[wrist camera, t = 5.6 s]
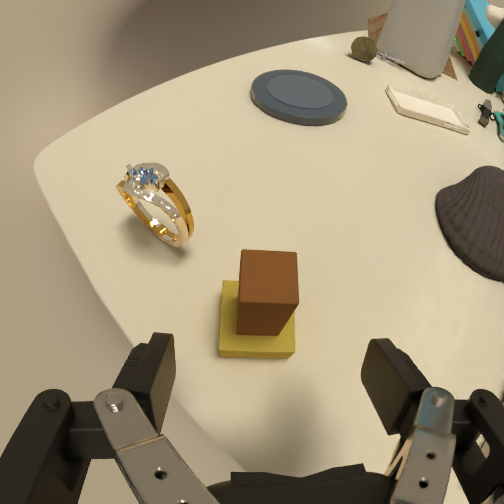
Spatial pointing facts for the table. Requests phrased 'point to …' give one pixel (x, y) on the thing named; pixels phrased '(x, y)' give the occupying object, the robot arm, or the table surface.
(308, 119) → the plate
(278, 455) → the table surface
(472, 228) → the seashell
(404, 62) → the syringe
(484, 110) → the knife
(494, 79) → the bottle
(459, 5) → the plastic bottle
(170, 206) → the ring
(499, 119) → the toy spaceship
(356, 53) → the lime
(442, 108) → the phone case
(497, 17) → the head sculpture
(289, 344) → the sponge brush
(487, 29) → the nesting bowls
